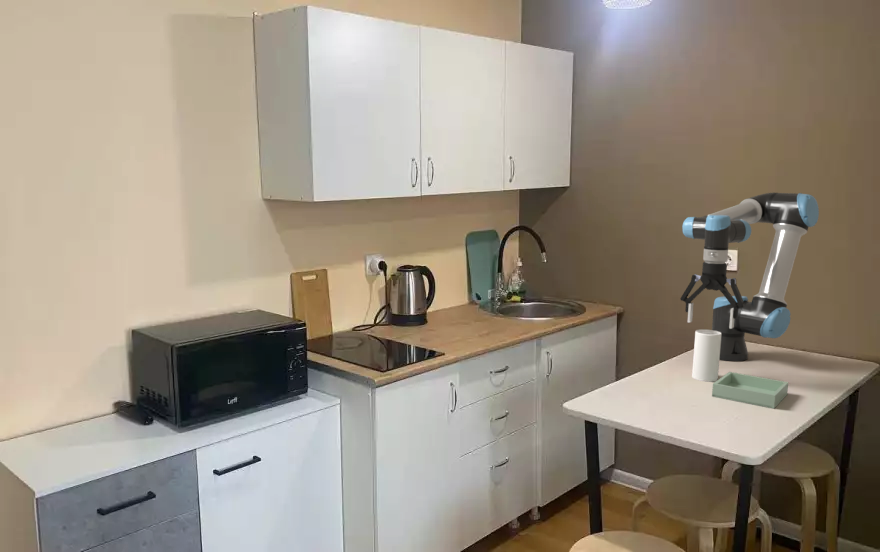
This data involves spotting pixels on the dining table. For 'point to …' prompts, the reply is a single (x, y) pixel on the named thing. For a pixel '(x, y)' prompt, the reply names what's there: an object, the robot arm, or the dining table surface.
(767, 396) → the bin
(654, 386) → the dining table surface
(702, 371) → the cup
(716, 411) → the dining table surface
